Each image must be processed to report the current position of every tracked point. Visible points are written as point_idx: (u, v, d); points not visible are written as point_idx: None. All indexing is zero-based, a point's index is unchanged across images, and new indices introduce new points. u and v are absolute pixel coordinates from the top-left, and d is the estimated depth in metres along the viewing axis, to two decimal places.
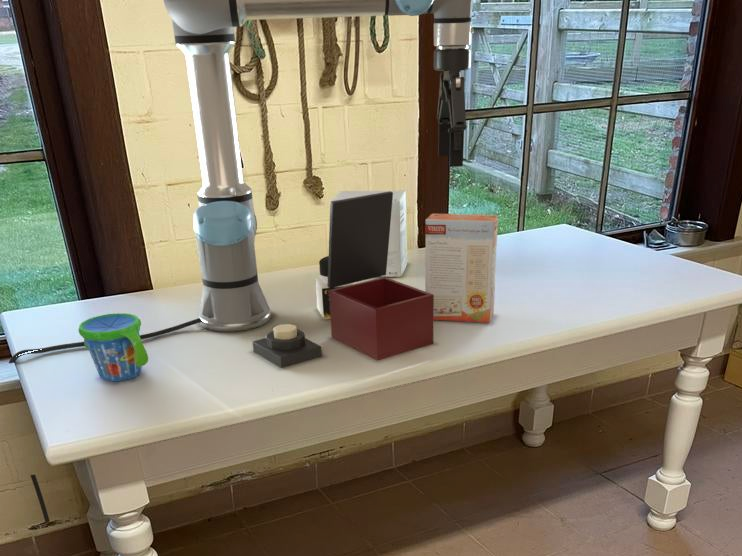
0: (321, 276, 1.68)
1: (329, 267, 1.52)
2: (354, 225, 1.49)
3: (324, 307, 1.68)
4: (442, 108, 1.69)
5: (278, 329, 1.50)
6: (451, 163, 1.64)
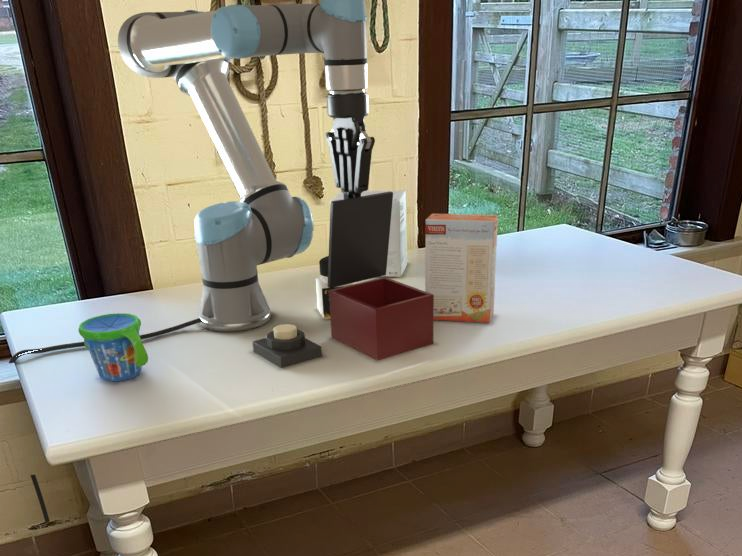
0: (321, 276, 1.68)
1: (329, 267, 1.52)
2: (354, 225, 1.49)
3: (324, 307, 1.68)
4: (344, 167, 1.47)
5: (278, 329, 1.50)
6: None
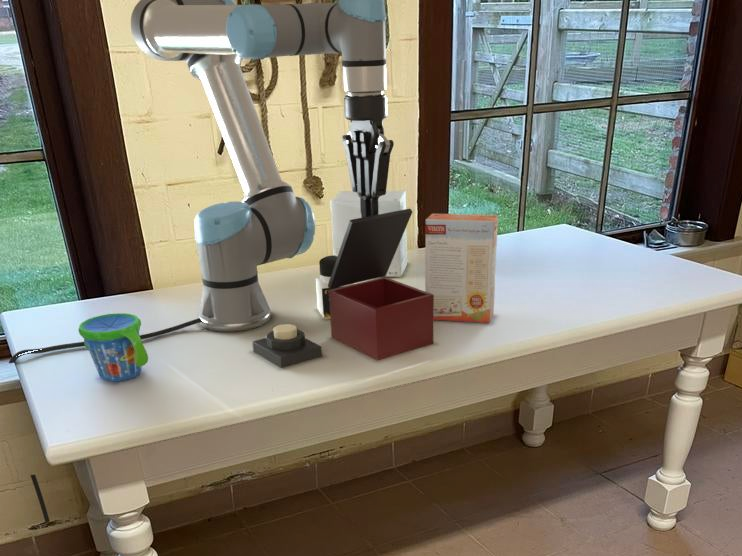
0: (321, 276, 1.68)
1: (334, 272, 1.51)
2: (367, 239, 1.47)
3: (324, 307, 1.68)
4: (361, 171, 1.43)
5: (278, 329, 1.50)
6: None
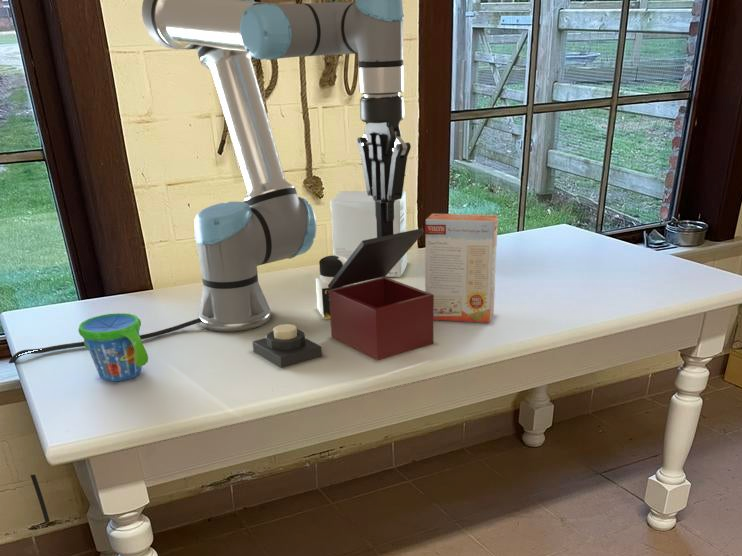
0: (321, 276, 1.68)
1: (336, 277, 1.51)
2: (375, 254, 1.47)
3: (324, 307, 1.68)
4: (376, 174, 1.40)
5: (278, 329, 1.50)
6: None
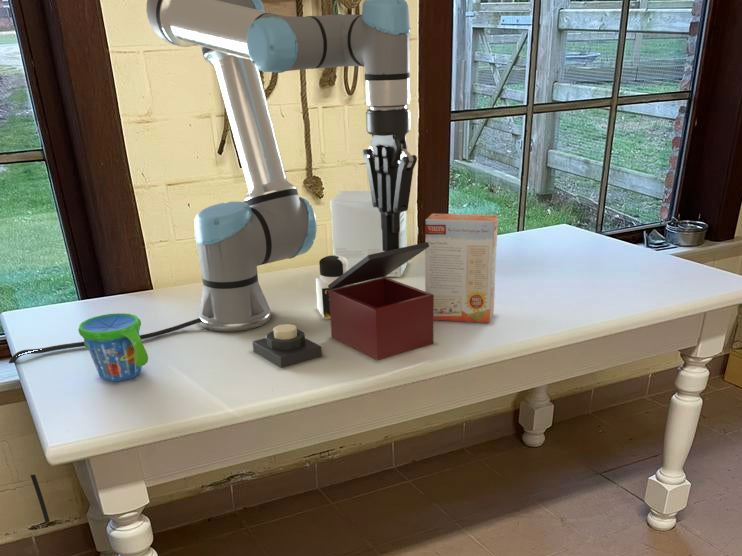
0: (321, 276, 1.68)
1: (338, 280, 1.51)
2: (379, 264, 1.47)
3: (324, 307, 1.68)
4: (382, 186, 1.40)
5: (278, 329, 1.50)
6: (388, 248, 1.44)
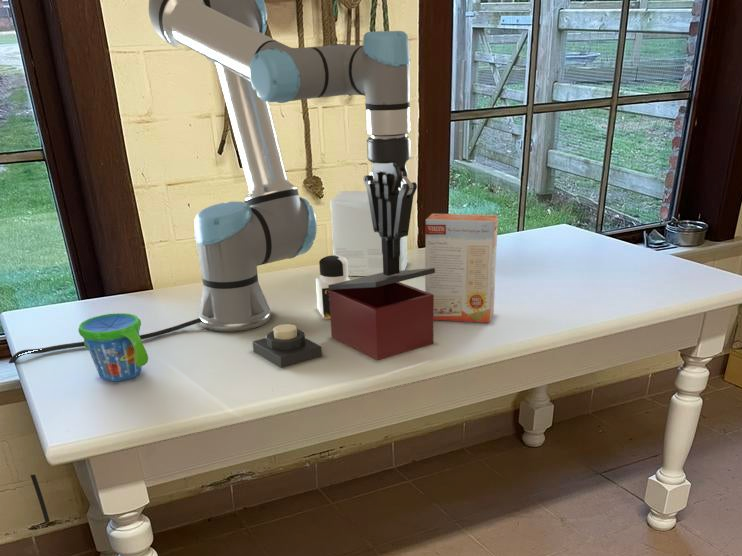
0: (321, 276, 1.68)
1: (339, 287, 1.51)
2: None
3: (324, 307, 1.68)
4: (383, 212, 1.42)
5: (278, 329, 1.50)
6: (389, 272, 1.47)
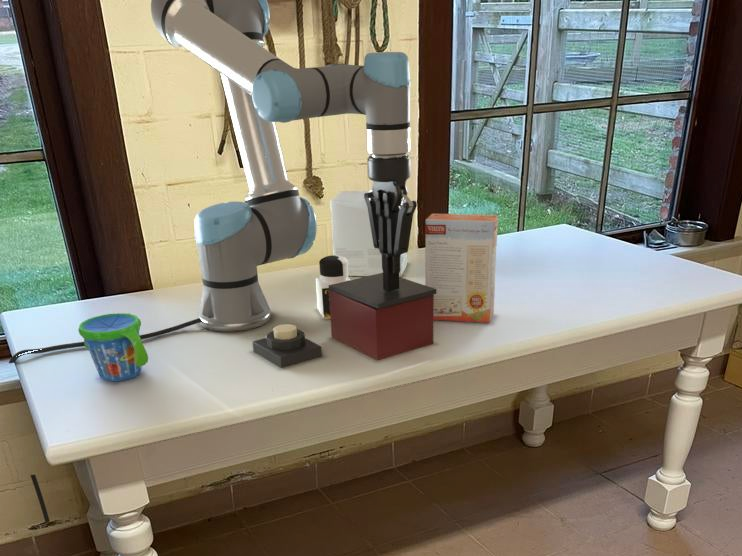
0: (321, 276, 1.68)
1: (340, 292, 1.52)
2: None
3: (324, 307, 1.68)
4: (383, 229, 1.44)
5: (278, 329, 1.50)
6: (389, 287, 1.48)
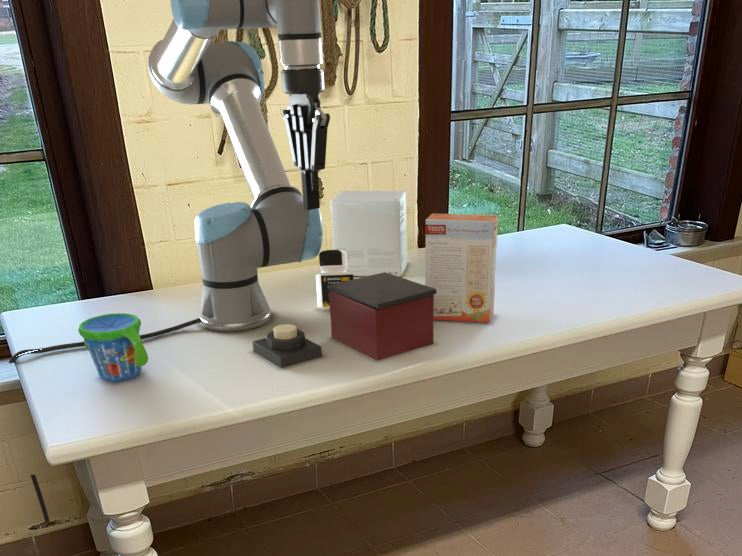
0: (320, 267, 1.69)
1: (340, 292, 1.52)
2: None
3: (323, 295, 1.68)
4: (300, 145, 1.45)
5: (278, 329, 1.50)
6: (309, 206, 1.49)
